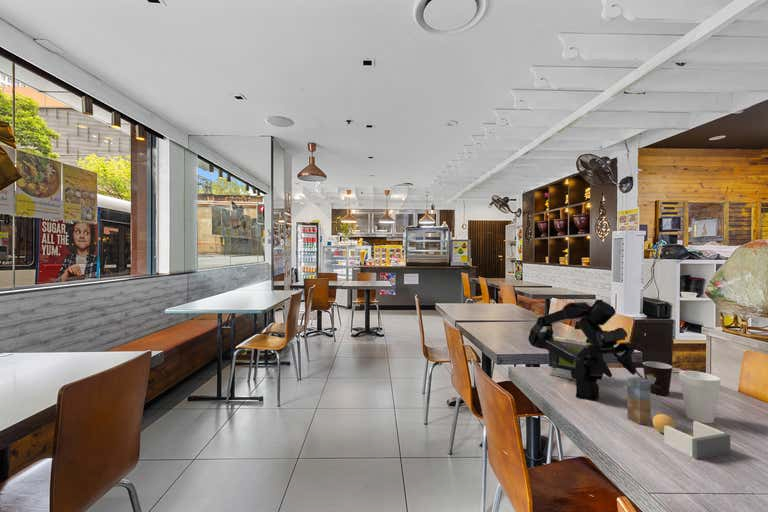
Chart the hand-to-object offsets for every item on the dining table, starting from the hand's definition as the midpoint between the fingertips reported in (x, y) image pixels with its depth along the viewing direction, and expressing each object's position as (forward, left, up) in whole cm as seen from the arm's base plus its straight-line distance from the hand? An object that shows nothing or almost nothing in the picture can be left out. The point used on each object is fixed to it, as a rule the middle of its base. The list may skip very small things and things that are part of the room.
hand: (622, 375), depth 115 cm
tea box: (-17, +32, -12) cm, 38 cm away
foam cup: (+20, +7, -12) cm, 24 cm away
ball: (+9, -10, -9) cm, 16 cm away
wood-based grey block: (+4, -4, -12) cm, 13 cm away
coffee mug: (+11, +28, -12) cm, 32 cm away
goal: (+15, -16, -12) cm, 25 cm away
